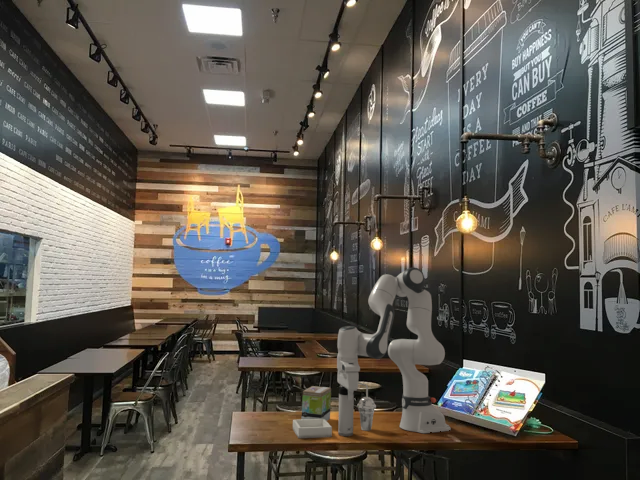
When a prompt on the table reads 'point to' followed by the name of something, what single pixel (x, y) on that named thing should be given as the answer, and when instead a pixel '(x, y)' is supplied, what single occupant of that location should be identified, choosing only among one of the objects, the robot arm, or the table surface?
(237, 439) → the table surface
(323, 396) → the tea box
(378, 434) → the table surface
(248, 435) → the table surface
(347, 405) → the travel mug
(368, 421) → the cup with straw
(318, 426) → the tray
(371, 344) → the robot arm
